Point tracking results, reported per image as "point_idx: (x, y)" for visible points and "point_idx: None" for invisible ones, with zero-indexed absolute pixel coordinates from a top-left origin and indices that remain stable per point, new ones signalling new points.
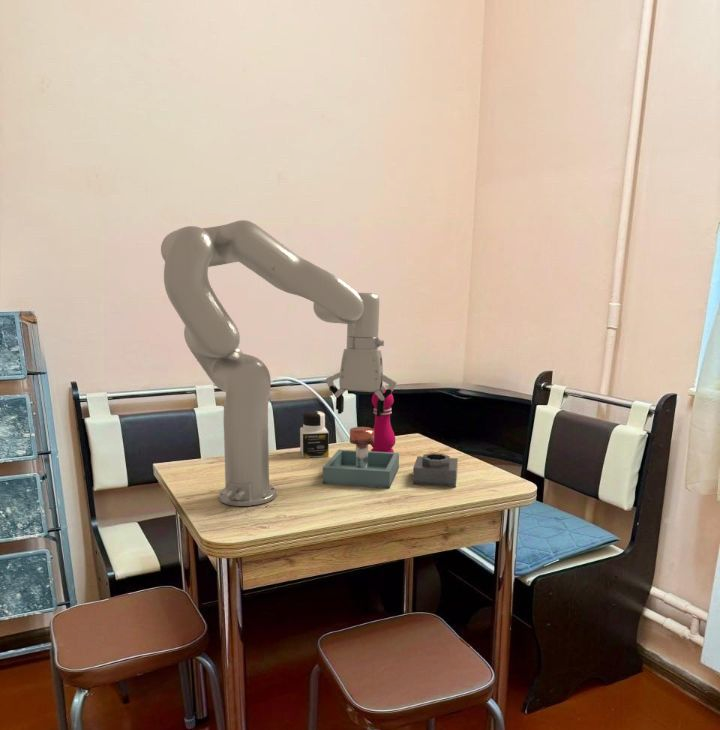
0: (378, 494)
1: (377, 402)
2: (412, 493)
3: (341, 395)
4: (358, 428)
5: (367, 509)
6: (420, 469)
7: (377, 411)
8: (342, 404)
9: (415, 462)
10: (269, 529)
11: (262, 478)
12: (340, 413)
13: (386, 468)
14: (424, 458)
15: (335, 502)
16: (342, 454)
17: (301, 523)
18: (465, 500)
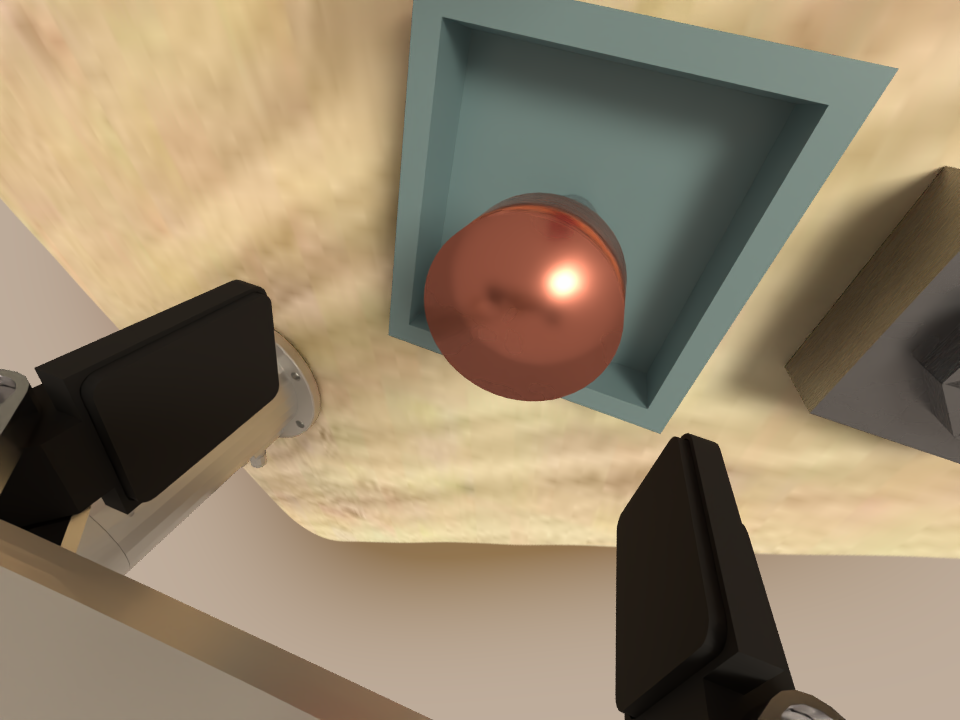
0: (601, 429)
1: (619, 690)
2: (731, 448)
3: (80, 488)
4: (489, 273)
5: (550, 506)
6: (847, 422)
7: (623, 570)
8: (205, 387)
9: (886, 332)
10: (365, 522)
11: (261, 446)
12: (274, 369)
13: (658, 395)
14: (947, 397)
15: (470, 451)
16: (453, 22)
17: (412, 520)
18: (913, 542)
